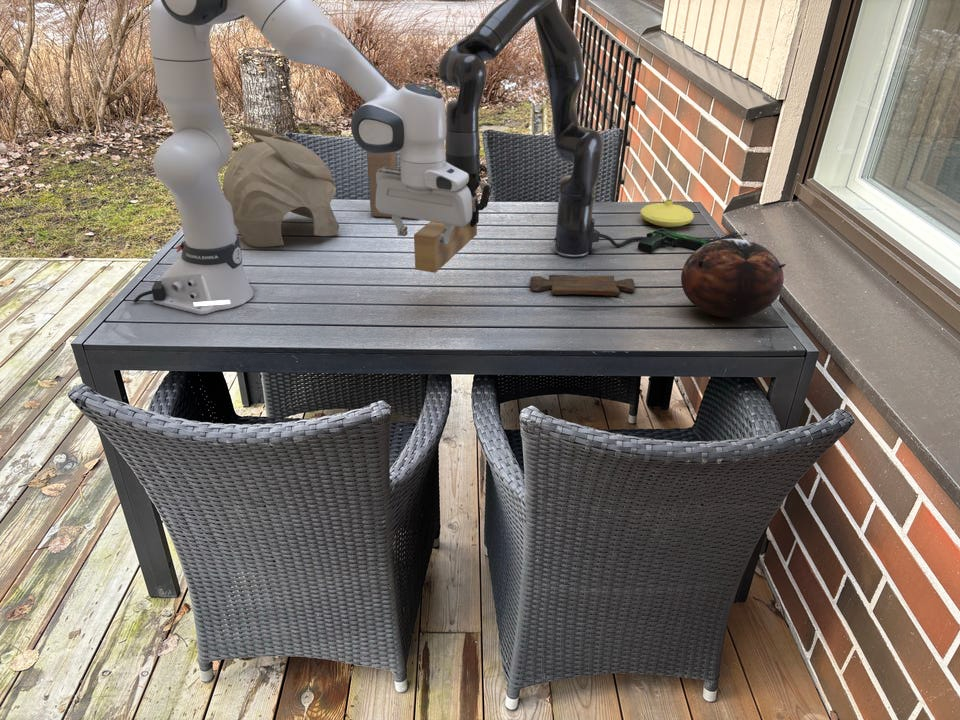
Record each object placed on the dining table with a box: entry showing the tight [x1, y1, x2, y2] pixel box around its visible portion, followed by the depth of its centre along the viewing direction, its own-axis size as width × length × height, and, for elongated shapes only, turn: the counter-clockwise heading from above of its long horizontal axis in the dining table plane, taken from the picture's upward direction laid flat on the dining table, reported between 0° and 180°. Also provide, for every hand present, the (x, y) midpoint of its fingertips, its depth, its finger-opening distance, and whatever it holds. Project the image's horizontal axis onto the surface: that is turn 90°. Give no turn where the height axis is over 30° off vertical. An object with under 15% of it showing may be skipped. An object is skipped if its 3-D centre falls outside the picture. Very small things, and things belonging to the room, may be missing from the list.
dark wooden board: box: [529, 274, 635, 297], centre depth 175 cm, size 26×2×10 cm
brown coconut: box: [680, 238, 787, 319], centre depth 162 cm, size 22×18×20 cm
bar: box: [413, 221, 478, 274], centre depth 158 cm, size 24×5×8 cm, turn 159°
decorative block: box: [366, 151, 415, 220], centre depth 212 cm, size 8×15×30 cm, turn 82°
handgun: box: [637, 227, 709, 254], centre depth 199 cm, size 16×3×15 cm
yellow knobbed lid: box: [640, 198, 695, 228], centre depth 215 cm, size 16×16×7 cm
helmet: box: [222, 125, 340, 248], centre depth 196 cm, size 27×30×30 cm
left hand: (423, 239), depth 147 cm, fingers open, 8 cm apart
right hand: (462, 224), depth 166 cm, fingers closed on bar, 4 cm apart
